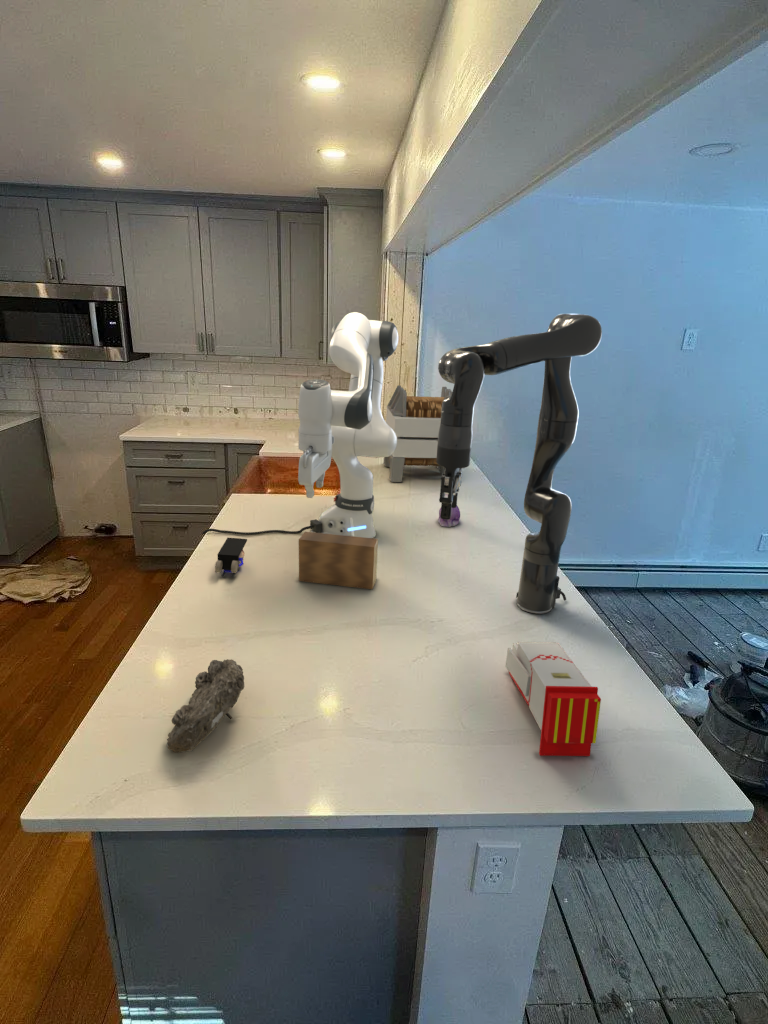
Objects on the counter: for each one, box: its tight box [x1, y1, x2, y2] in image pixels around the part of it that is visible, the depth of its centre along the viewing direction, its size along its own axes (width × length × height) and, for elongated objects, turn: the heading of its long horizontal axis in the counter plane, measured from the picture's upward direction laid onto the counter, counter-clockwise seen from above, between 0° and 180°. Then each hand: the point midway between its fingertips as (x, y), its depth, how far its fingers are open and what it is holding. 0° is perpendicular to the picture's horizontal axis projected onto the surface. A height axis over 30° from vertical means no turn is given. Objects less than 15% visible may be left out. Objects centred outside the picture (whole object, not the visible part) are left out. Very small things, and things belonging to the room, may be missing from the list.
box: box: [298, 531, 379, 590], centre depth 162 cm, size 22×6×13 cm, turn 81°
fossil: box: [166, 658, 245, 754], centre depth 106 cm, size 22×10×15 cm
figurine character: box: [214, 537, 248, 578], centre depth 166 cm, size 7×8×15 cm
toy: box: [505, 641, 602, 757], centre depth 113 cm, size 12×13×30 cm
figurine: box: [437, 494, 461, 528], centre depth 209 cm, size 9×10×15 cm
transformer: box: [383, 384, 453, 483], centre depth 268 cm, size 34×33×41 cm
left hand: (315, 491), depth 156 cm, fingers open, 8 cm apart
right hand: (448, 512), depth 131 cm, fingers open, 8 cm apart
